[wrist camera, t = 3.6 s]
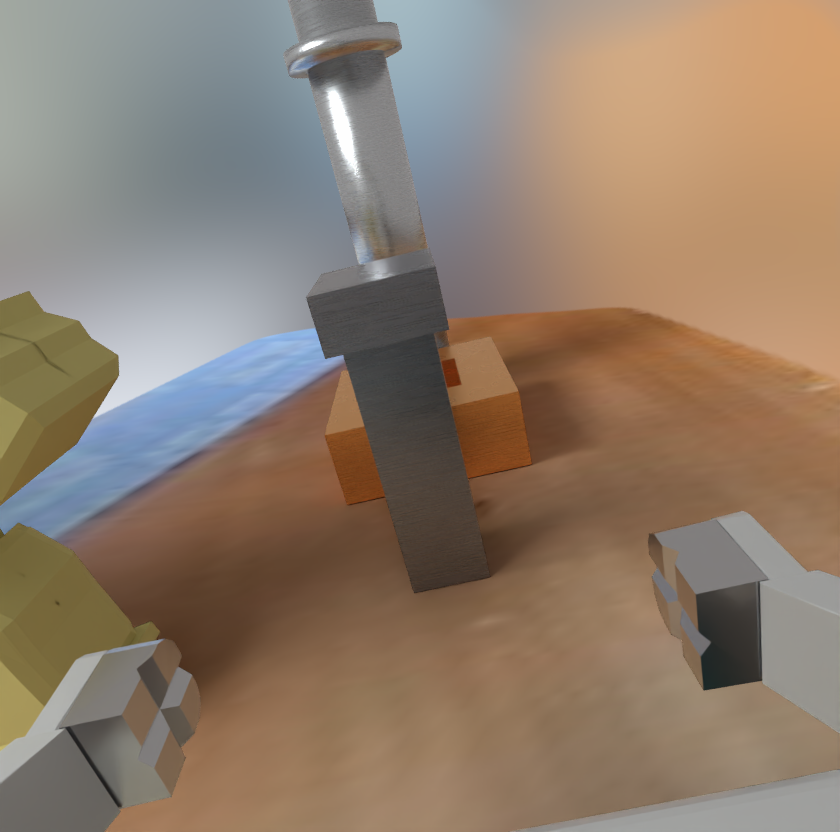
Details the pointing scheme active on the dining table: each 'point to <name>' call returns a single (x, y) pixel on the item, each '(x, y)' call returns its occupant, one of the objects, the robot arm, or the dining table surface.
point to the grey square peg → (405, 408)
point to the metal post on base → (390, 234)
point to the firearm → (28, 548)
